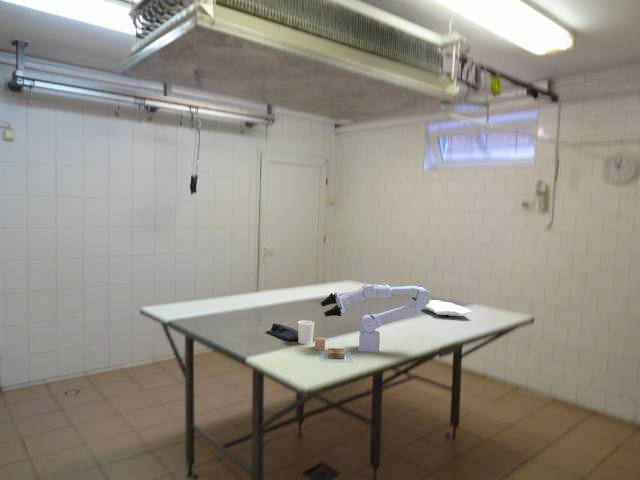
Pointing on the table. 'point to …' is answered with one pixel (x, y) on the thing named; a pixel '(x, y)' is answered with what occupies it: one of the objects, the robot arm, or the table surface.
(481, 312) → the table surface
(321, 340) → the top block
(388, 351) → the table surface
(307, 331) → the white cup
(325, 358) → the blueprint board
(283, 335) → the dark slate chunk
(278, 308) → the table surface
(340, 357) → the base block
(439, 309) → the crumpled cloth
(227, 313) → the table surface
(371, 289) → the robot arm
